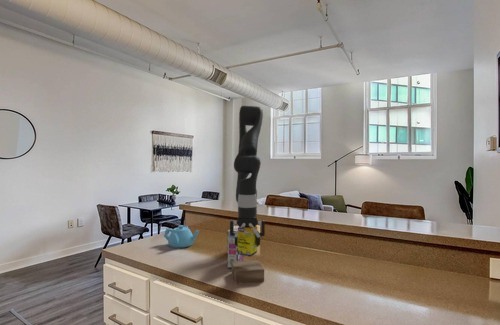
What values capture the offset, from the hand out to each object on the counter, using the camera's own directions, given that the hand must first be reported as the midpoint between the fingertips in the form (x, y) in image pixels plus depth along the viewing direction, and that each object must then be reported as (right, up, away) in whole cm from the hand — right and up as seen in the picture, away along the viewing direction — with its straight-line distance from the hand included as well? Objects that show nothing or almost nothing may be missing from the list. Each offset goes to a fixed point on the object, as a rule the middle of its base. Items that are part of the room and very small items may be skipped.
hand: (247, 246), depth 117 cm
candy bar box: (-5, -13, +14) cm, 20 cm away
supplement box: (0, -3, 0) cm, 3 cm away
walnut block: (0, -13, 0) cm, 13 cm away
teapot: (-37, -12, +45) cm, 59 cm away
